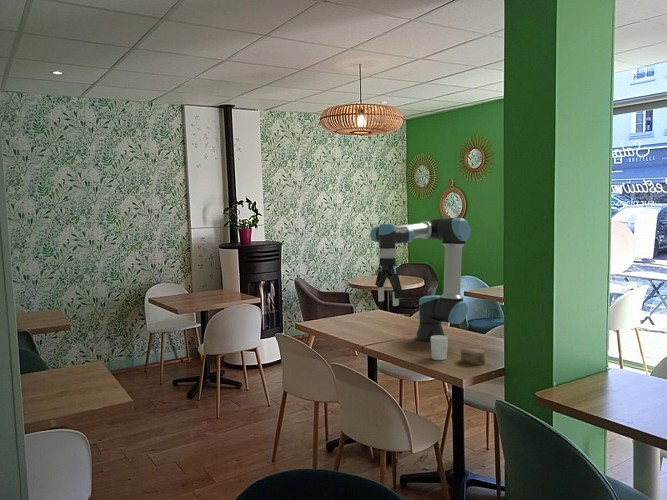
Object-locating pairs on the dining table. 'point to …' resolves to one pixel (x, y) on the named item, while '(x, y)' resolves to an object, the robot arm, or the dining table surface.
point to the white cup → (439, 347)
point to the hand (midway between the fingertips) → (388, 303)
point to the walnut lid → (472, 356)
